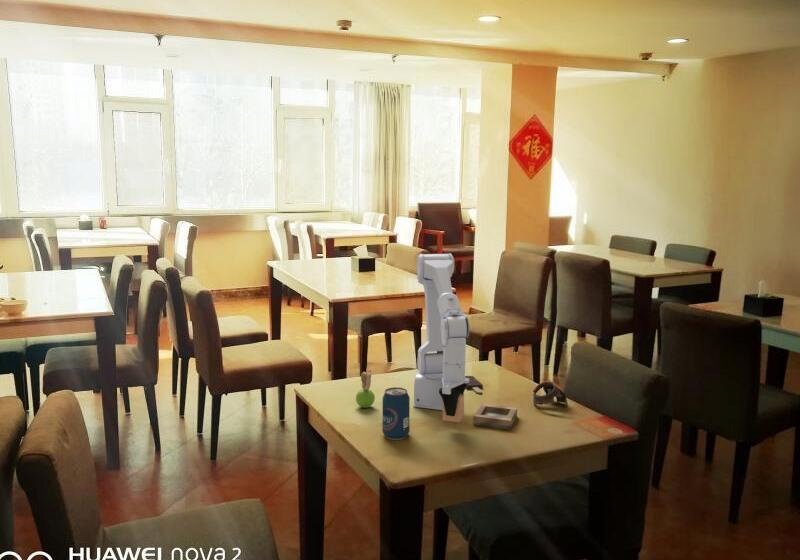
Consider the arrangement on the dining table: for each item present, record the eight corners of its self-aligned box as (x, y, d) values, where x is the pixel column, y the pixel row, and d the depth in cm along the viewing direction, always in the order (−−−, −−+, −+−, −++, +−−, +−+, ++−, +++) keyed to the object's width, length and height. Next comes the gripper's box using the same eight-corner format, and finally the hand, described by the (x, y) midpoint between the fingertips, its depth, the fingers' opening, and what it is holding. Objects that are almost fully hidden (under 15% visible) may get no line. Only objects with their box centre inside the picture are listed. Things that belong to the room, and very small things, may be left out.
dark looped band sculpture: (573, 413, 191) (561, 391, 188) (542, 425, 193) (530, 403, 190) (566, 389, 202) (555, 368, 199) (536, 401, 204) (525, 380, 201)
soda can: (376, 436, 173) (376, 391, 171) (394, 428, 178) (394, 384, 176) (397, 443, 168) (397, 397, 166) (414, 435, 173) (415, 390, 171)
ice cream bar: (488, 394, 205) (471, 379, 220) (488, 389, 205) (471, 374, 220) (471, 395, 204) (456, 380, 219) (472, 390, 204) (456, 375, 218)
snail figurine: (361, 412, 189) (360, 371, 187) (353, 405, 195) (352, 365, 193) (378, 410, 191) (378, 369, 189) (370, 402, 197) (370, 363, 195)
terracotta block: (442, 420, 174) (442, 397, 173) (447, 414, 178) (447, 392, 177) (459, 422, 173) (459, 400, 172) (463, 416, 177) (464, 394, 176)
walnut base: (473, 424, 180) (473, 415, 180) (481, 412, 190) (481, 403, 189) (510, 429, 177) (510, 420, 177) (516, 416, 186) (517, 408, 186)
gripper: (462, 371, 165) (461, 423, 167) (475, 355, 178) (474, 404, 181) (434, 368, 167) (433, 420, 170) (450, 353, 181) (449, 401, 183)
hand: (453, 412), depth 175 cm, fingers closed on terracotta block, 4 cm apart
